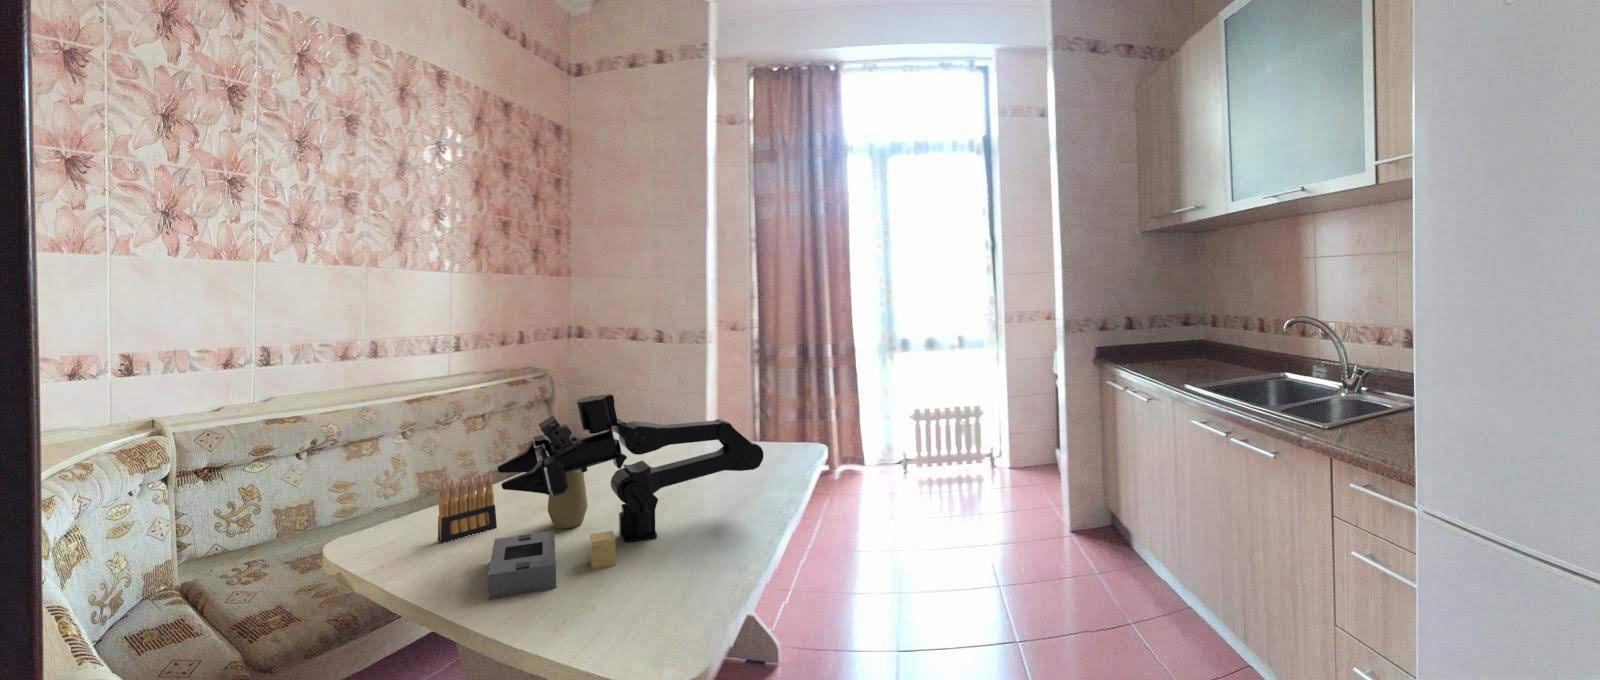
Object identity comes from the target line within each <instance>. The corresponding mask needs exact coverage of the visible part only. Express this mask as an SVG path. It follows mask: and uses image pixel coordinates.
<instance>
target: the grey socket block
mask: <svg viewBox="0 0 1600 680" xmlns="http://www.w3.org/2000/svg"><path fill="white" fill-rule="evenodd" d="M555 543H556V541H555V531H554V530H550V531H541V532H535V533H527V534H521V535H512V536H505V537H498V538H494V543H493V548H492V552H491V558H490V563H489V568H488V573H487V587H488V588H487V590H488V591H487V593H488V594H487V596H488V597H487V598H488V600H489V601H490V600H493V599H500V598H506V597H511V596H517V595H522V594H528V593H534V592H539V591H544V590H546V591H547V590H551V589H557V568H556V567H557V561H556V545H555Z"/></svg>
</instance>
